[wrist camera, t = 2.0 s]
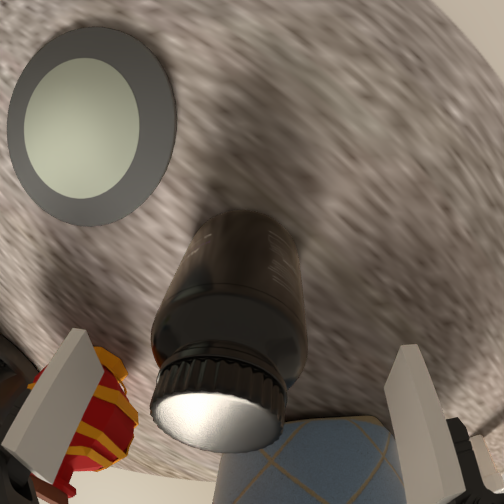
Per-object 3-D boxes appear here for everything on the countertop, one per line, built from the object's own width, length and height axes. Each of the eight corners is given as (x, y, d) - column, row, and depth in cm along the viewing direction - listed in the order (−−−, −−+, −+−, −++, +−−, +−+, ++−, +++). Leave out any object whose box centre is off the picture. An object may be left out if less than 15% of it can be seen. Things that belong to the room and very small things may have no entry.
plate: (29, 225, 20) (24, 229, 19) (7, 60, 14) (0, 60, 13) (185, 221, 19) (182, 225, 19) (173, 8, 13) (170, 5, 13)
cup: (442, 455, 35) (457, 511, 25) (471, 432, 32) (491, 492, 22) (466, 452, 36) (481, 503, 26) (493, 430, 33) (512, 484, 23)
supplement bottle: (184, 207, 19) (92, 352, 8) (299, 205, 18) (330, 364, 8) (197, 300, 22) (150, 455, 12) (295, 301, 22) (306, 465, 11)
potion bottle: (99, 309, 23) (10, 466, 10) (174, 388, 27) (136, 534, 14) (40, 339, 26) (-29, 452, 13) (105, 403, 30) (63, 514, 17)
